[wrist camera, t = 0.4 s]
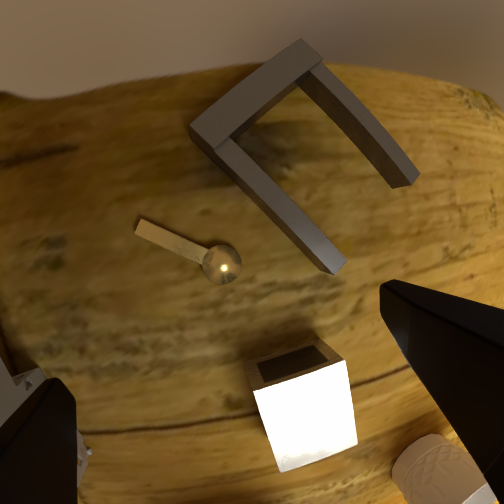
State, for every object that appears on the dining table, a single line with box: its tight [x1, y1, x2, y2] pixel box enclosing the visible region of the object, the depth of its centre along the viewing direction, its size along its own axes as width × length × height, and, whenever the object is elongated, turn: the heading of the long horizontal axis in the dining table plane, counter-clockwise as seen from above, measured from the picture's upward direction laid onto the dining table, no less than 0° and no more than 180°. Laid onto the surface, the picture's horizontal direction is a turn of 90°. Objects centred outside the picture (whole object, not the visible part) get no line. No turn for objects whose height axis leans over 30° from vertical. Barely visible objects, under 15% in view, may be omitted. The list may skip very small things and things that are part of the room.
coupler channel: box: [189, 39, 420, 275], centre depth 19 cm, size 12×9×3 cm
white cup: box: [392, 433, 497, 504], centre depth 19 cm, size 8×8×10 cm
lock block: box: [244, 338, 358, 473], centre depth 20 cm, size 7×6×4 cm
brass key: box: [134, 219, 242, 284], centre depth 20 cm, size 7×2×1 cm, turn 65°
